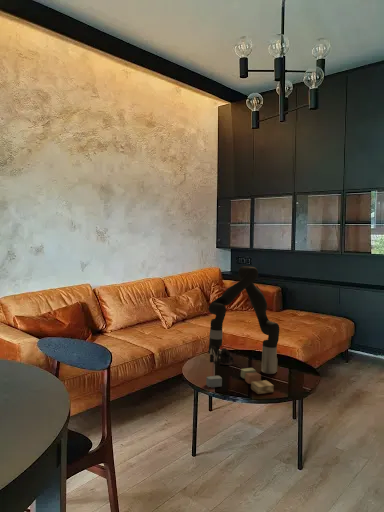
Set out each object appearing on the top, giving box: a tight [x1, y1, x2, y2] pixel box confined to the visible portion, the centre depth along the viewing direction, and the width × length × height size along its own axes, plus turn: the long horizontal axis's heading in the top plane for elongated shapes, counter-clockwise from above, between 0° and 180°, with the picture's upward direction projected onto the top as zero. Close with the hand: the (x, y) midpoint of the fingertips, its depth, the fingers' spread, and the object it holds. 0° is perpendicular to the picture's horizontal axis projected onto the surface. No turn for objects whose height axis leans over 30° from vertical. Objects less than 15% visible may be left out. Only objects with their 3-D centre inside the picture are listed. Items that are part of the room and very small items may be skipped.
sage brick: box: [240, 367, 257, 380], centre depth 244 cm, size 8×4×5 cm, turn 112°
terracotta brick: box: [244, 371, 262, 385], centre depth 236 cm, size 8×4×5 cm, turn 108°
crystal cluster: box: [214, 348, 235, 366], centre depth 271 cm, size 13×14×10 cm
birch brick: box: [250, 379, 275, 395], centre depth 224 cm, size 10×8×4 cm
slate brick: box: [205, 375, 223, 388], centre depth 228 cm, size 8×4×5 cm, turn 109°
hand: (214, 364), depth 228 cm, fingers open, 8 cm apart
